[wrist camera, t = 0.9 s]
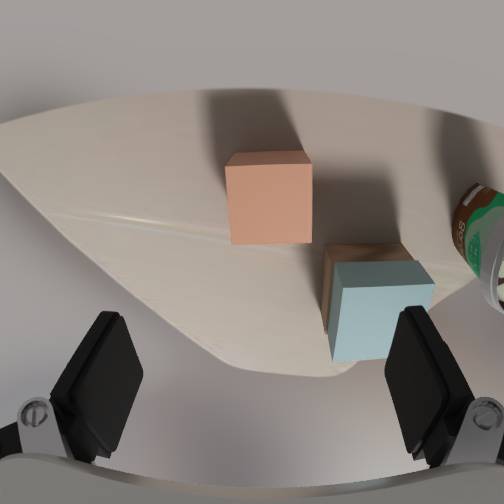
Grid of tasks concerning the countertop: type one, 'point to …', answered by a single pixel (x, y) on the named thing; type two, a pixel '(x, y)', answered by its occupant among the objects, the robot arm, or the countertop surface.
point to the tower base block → (355, 255)
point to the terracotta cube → (269, 197)
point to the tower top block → (372, 305)
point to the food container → (482, 239)
